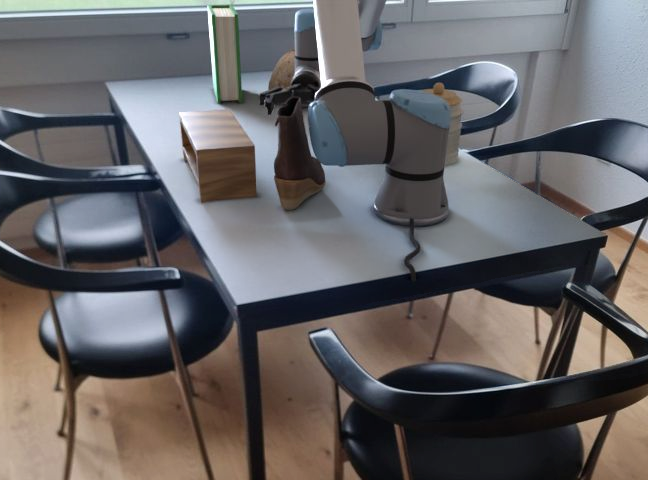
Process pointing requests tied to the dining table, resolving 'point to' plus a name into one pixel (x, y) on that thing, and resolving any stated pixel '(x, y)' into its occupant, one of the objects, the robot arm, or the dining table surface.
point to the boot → (295, 158)
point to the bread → (284, 72)
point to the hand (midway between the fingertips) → (299, 110)
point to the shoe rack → (218, 155)
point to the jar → (454, 120)
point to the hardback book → (225, 52)
